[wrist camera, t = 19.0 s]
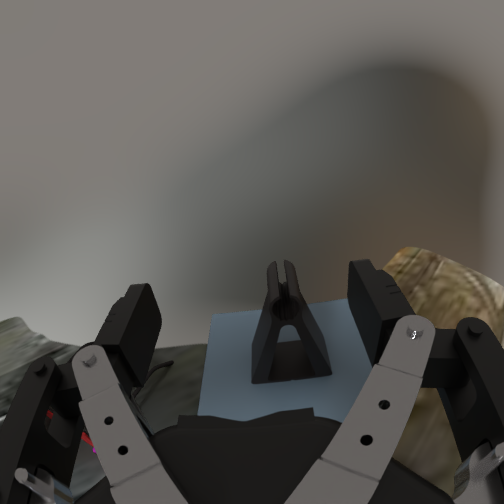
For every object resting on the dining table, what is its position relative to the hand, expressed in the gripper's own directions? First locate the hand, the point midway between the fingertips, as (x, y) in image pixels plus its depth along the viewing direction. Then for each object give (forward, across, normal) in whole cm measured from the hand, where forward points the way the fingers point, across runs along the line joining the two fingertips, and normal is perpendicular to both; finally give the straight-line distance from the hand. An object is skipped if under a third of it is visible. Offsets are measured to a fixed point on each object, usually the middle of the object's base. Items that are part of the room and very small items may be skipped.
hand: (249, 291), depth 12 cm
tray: (+14, -2, +22) cm, 26 cm away
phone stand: (+14, -2, +21) cm, 26 cm away
